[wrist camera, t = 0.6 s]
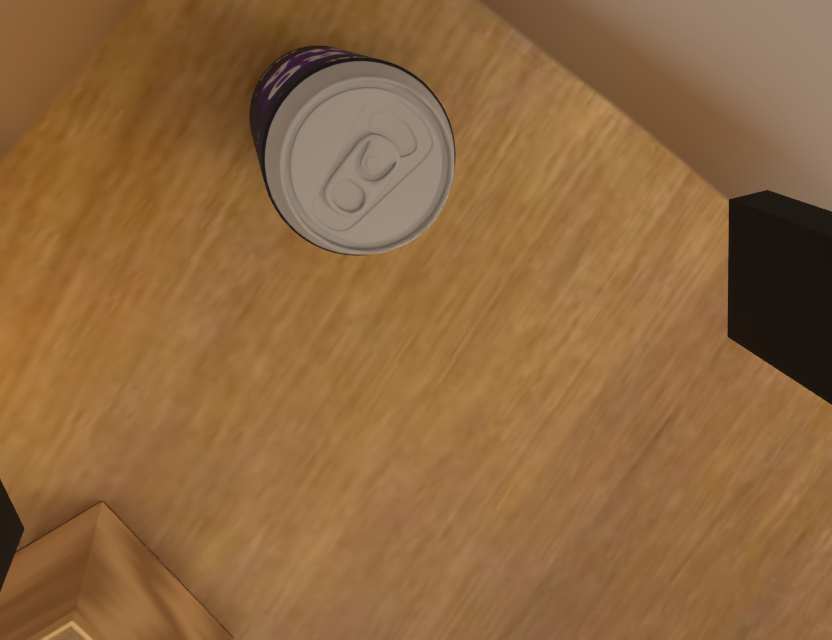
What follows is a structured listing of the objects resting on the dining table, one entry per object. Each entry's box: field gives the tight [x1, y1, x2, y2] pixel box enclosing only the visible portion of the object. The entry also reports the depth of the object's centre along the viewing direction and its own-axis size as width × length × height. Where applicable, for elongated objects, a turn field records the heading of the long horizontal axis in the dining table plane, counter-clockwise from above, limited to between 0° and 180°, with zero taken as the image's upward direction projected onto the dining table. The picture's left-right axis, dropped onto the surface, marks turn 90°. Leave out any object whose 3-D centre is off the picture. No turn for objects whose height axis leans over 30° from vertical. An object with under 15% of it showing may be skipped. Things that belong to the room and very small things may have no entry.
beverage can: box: [250, 46, 455, 255], centre depth 26 cm, size 6×6×12 cm
